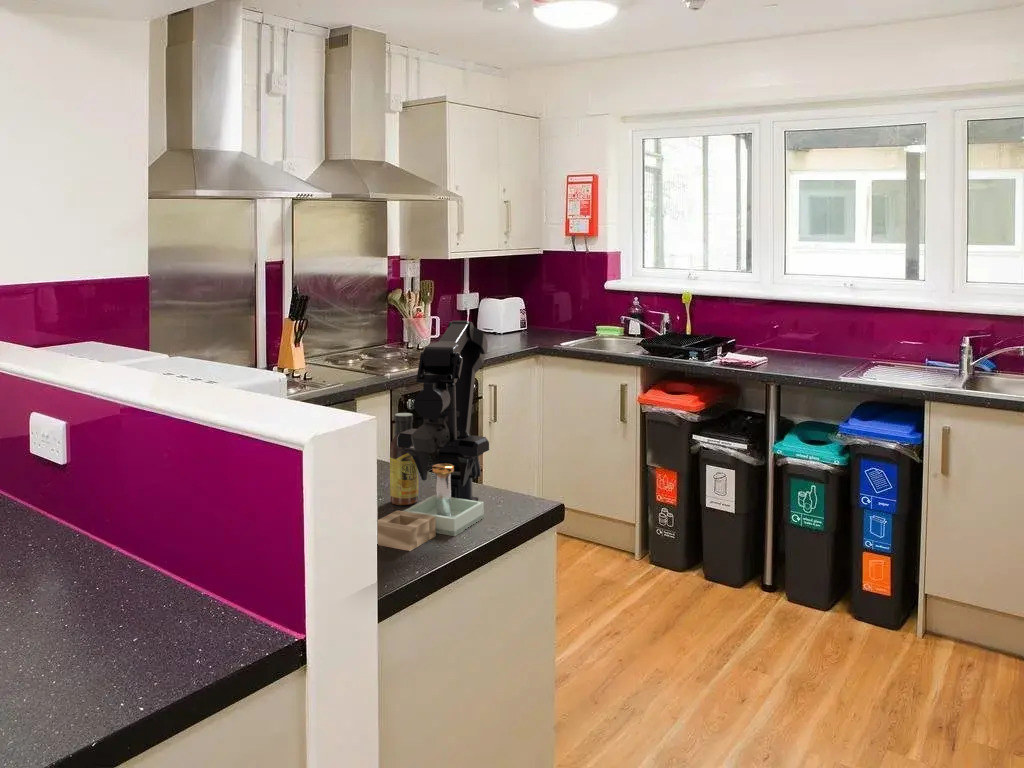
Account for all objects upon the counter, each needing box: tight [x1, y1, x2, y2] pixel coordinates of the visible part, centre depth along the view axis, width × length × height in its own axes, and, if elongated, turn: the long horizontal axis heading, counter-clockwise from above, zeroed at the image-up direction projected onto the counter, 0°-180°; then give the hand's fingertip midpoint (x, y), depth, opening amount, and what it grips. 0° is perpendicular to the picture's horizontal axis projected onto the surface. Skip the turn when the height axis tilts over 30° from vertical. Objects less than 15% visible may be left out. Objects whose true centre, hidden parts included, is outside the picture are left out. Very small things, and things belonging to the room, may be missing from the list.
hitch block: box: [377, 510, 437, 552], centre depth 173 cm, size 9×9×4 cm
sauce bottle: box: [389, 412, 419, 506], centre depth 195 cm, size 6×6×20 cm
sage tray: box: [403, 494, 485, 537], centre depth 182 cm, size 12×12×4 cm
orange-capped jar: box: [431, 463, 454, 517], centre depth 181 cm, size 4×4×11 cm
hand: (443, 482), depth 181 cm, fingers open, 9 cm apart
